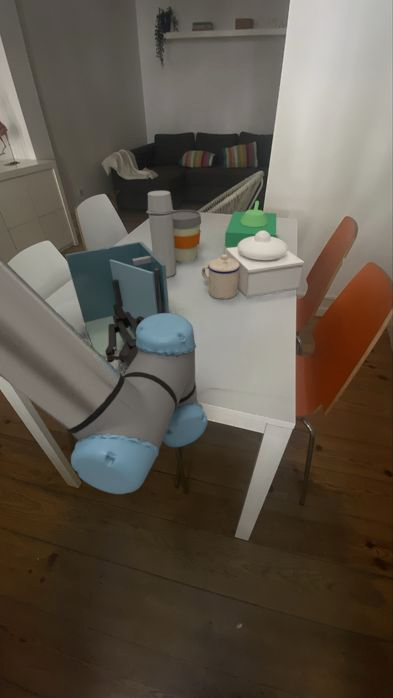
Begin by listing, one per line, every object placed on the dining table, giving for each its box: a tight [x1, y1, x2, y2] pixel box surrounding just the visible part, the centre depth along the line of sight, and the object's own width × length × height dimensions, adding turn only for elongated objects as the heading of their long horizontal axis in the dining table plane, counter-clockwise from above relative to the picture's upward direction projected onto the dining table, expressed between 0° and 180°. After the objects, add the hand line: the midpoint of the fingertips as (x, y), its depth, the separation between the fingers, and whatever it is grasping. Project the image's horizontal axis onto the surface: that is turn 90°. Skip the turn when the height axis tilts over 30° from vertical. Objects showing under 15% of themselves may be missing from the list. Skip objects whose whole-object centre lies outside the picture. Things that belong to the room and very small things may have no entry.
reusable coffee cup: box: [171, 209, 202, 262], centre depth 114 cm, size 12×13×15 cm
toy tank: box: [224, 200, 277, 249], centre depth 127 cm, size 18×12×35 cm
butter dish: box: [224, 231, 305, 298], centre depth 96 cm, size 18×18×16 cm
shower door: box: [109, 260, 158, 319], centre depth 75 cm, size 13×2×16 cm, turn 55°
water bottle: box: [145, 190, 177, 279], centre depth 100 cm, size 9×8×25 cm
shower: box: [64, 241, 170, 359], centre depth 75 cm, size 18×16×19 cm
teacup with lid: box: [201, 253, 240, 300], centre depth 93 cm, size 12×9×12 cm
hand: (117, 309), depth 73 cm, fingers closed
